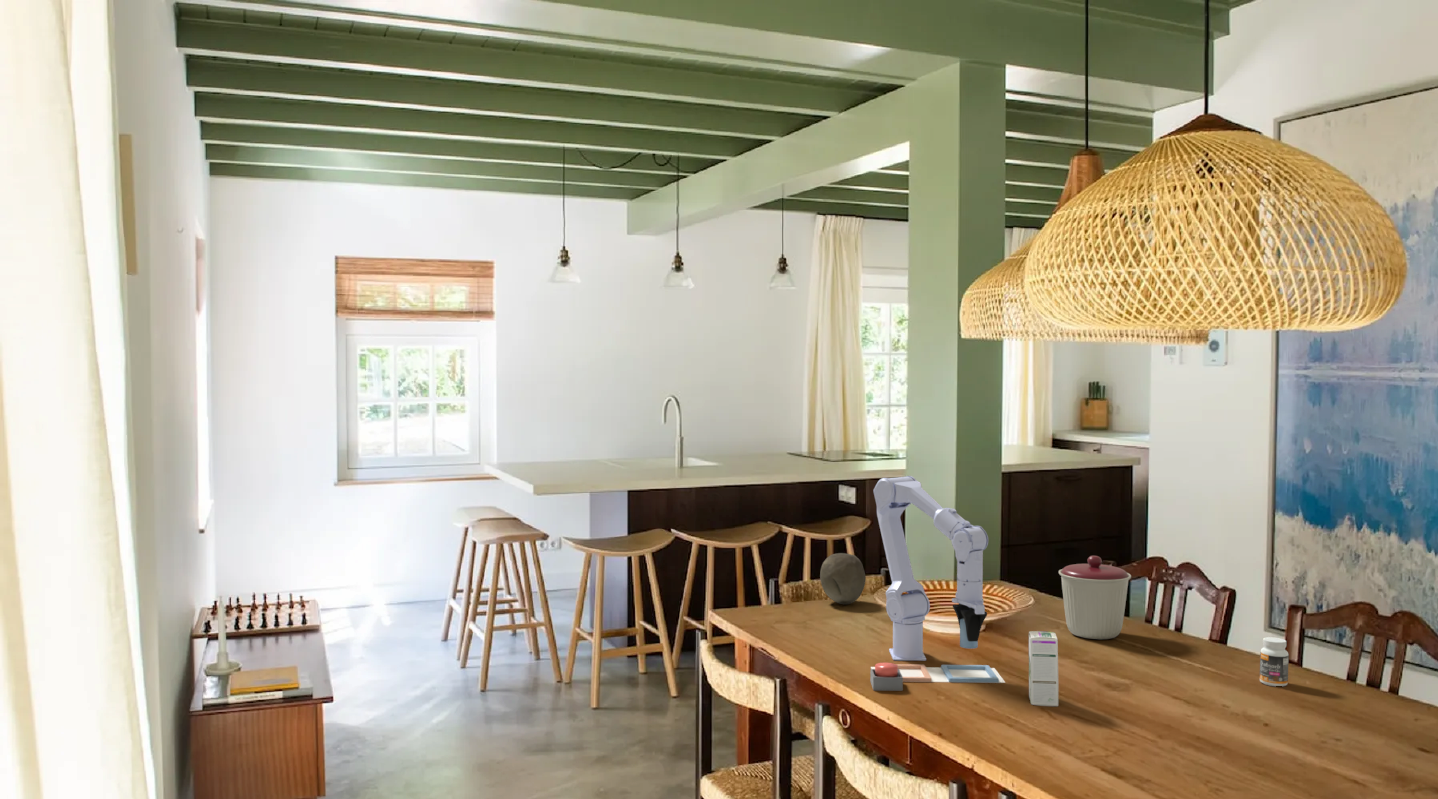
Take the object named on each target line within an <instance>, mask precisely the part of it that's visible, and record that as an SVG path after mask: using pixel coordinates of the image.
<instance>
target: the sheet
mask: <svg viewBox="0 0 1438 799" xmlns="http://www.w3.org/2000/svg"><path fill="white" fill-rule="evenodd" d="M925 667H926V669H927V671H928V673H929V675H930V676H931V682H930V683H950V682H949V681H948V679H947V677H946V675H945V674H944V672H943V670H942V669H941V666H940V667H935V666H934V667H933V666H932V667H927V666H925ZM990 668H991V669H992V671H993V672H994V673H995V675H996V676H997V677H998V679H999V682H977V683H982V684H983V683H985V684H988V683H990V684H991V683H992V684H995V683H996V684H1003V683H1006V681H1005V680H1004V678H1003V677H1002V676H1001V675H1000V673H999V672H998V670H997V669H996V668H995V667H990ZM871 669H875V666H870V670H871ZM899 670H900V673H901V675H902V677H924V675H923V673H922V671H921V669H899ZM948 670H949V671H950V673H951V675H952V676H953V677H982V678H991V677H990V676H989V675H988V673H987V672H986V670H960V669H948Z"/></svg>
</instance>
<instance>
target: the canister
mask: <svg viewBox="0 0 1438 799" xmlns="http://www.w3.org/2000/svg"><path fill="white" fill-rule="evenodd" d="M1102 562H1103V561H1102V558H1101V557H1100V556H1098V555H1090V556H1089V557H1088V558H1087V563H1076V564H1069V565H1066V566H1064V567H1063V568H1062V569H1059V570H1058V574H1059V576H1061V577H1060V578H1061V590H1062V598H1063V600H1062V601H1063V607H1064V615H1065V623H1066V626H1067V630H1068V631H1069V632H1070V633H1071V634H1072V635H1074V636H1077V637H1079V638H1083V639H1090V640H1109V639H1110V640H1111V639H1114V638H1116V637H1118V636H1119V635H1120V633H1121V632H1122V629H1123V623H1124V617H1125V613H1126V612H1125V609H1126V601H1127V594H1128V586H1129V580H1131V578H1132V575H1131V574H1130V573H1129V572H1127V571H1126V570H1125V569H1123V568H1120V567H1117V566H1113V565H1109V564H1102Z"/></svg>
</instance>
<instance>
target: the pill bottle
mask: <svg viewBox="0 0 1438 799" xmlns="http://www.w3.org/2000/svg"><path fill="white" fill-rule="evenodd" d="M1262 644H1263V647H1261V649H1260V654H1259V660H1260V661H1259V682H1260V683H1262V684H1263V685H1266V686H1270V687H1276V686H1282V687H1286V686H1288V683H1289V660H1290V659H1289V657H1290V656H1289V652H1288V651H1287V650H1286V648H1287V646H1288V645H1287V640H1286V639H1284V638H1279V637H1274V636H1273V637H1272V636H1266V637H1263V639H1262Z"/></svg>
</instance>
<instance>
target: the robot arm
mask: <svg viewBox="0 0 1438 799" xmlns="http://www.w3.org/2000/svg"><path fill="white" fill-rule="evenodd" d="M922 487H923V486H922V482H920V481H918V480H917V479H916V478H915V477H914V476H912V475H906V476H900V477H899V476H898V477H882V478H880V479H879V480H878V481H877V483H876V484H875V486H874V488H873V495H874V500H875V504H876V517H877V521H878V525H879V526H878V527H879V529H880V530H879V531H880V534H881V539H882V543H883V549H884V553H885V557H886V562H887V565H888V570H889V575H890V580H891V585H889V587H888V589H887V590H886V591H885V598H886V603H885V609H886V613H887V615H888V618H889V619H890V621H891V622H892V648H888V651H889V653H890V656H891V659H892V660H893V661H917V662H918V661H919V662H920V661H921V662H923V661H924V662H925V661H927V658H926V656H925V655H926V654H924V647H923V646H924V644H923V642H924V641H923V640H924V636H923V634H924V633H923V632H924V631H923V630H924V628H923V627H924V626H923V625H924V623H923V622H924V621H925V620H926V616H927V615H928V614H929V612H930V609H931V603H930V599H929V598H928V596H927V594H926V592H925V589H924V586H923V585H922V584H921V583H920V582H918V581H917V580H916V579H915V578H914V572H913V569H912V568H913V567H912V563H911V559H910V555H909V550H908V546H907V541H906V537H905V532H904V528H903V525H902V520H901V516H902V515H903V513H904V511H905V510H906V509H907V508H908V507H909V506H910V505H911V504H912V505H914V507H916V508H918V509H919V510H920V511H922V512H923V513H924V514H926V515H928V517H929V518H931V519H932V520H933V526H934V527H935V528H936V529H937V530H938V531H940V532H941V534H942V535H943V536H945V537H947V539H949V540H950V541H951V546H952V548H953V550H954V552H955V558H956V562H957V563H956V567H957V568H956V570H957V571H956V573H957V574H956V592H955V597H953V598H951V602H952V603H955V604H952V608H953V610H954V612H955V614H956V618H957V620H958V621H957V622H958V626H959V628H960V619H963V618H964V621H965V625H966V633H967V639H968V641H969V642H970V641H979V637H980V634H981V630H982V625H983V624H984V621H985V620H986V618H987V616H988V612H987V611H985V610H986V609H985V607H986V606H985V605H984V599H983V595H984V594H983V588H984V587H983V584H984V583H983V581H984V580H983V579H984V578H983V575H984V571H983V570H984V566H983V563H984V561H983V560H984V558H983V557H984V554H983V553H984V551H985V550H986V549H987V547H988V545H989V536H988V533H987V531H986V530H985V529H984V528H983V526H981V525H973V524H971V522H970V521H969V520H966V519H964V518H963V517H962V516H961V515H960V514H959V513H957V512H958V511H957V510H956V509H955V508H954V507H953V508H951V507H942V505H941V504H939V503H938V502H937V501H936V499H934V498H933V497H932V496H931V495H930V494H929V493H928V492H927V491H926V490H925V489H924V488H922ZM903 593H904V594H903Z"/></svg>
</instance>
